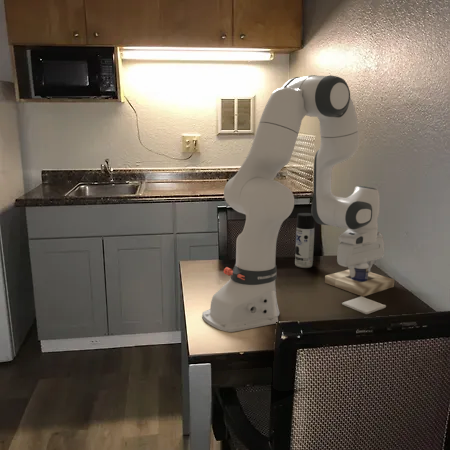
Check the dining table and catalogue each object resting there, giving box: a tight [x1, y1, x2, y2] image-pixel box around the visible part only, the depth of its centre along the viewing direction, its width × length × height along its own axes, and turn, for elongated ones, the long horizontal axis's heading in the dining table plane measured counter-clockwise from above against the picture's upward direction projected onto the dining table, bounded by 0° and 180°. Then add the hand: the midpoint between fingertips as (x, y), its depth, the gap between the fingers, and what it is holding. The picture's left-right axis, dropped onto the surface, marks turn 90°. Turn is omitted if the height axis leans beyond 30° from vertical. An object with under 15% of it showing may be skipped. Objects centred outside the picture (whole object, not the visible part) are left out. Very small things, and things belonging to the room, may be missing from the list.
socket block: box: [324, 268, 395, 298], centre depth 159 cm, size 16×16×2 cm
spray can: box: [294, 212, 316, 269], centre depth 178 cm, size 7×7×20 cm
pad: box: [341, 296, 387, 315], centre depth 141 cm, size 9×9×1 cm
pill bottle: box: [351, 258, 369, 282], centre depth 159 cm, size 5×5×10 cm
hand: (359, 274), depth 159 cm, fingers open, 6 cm apart
